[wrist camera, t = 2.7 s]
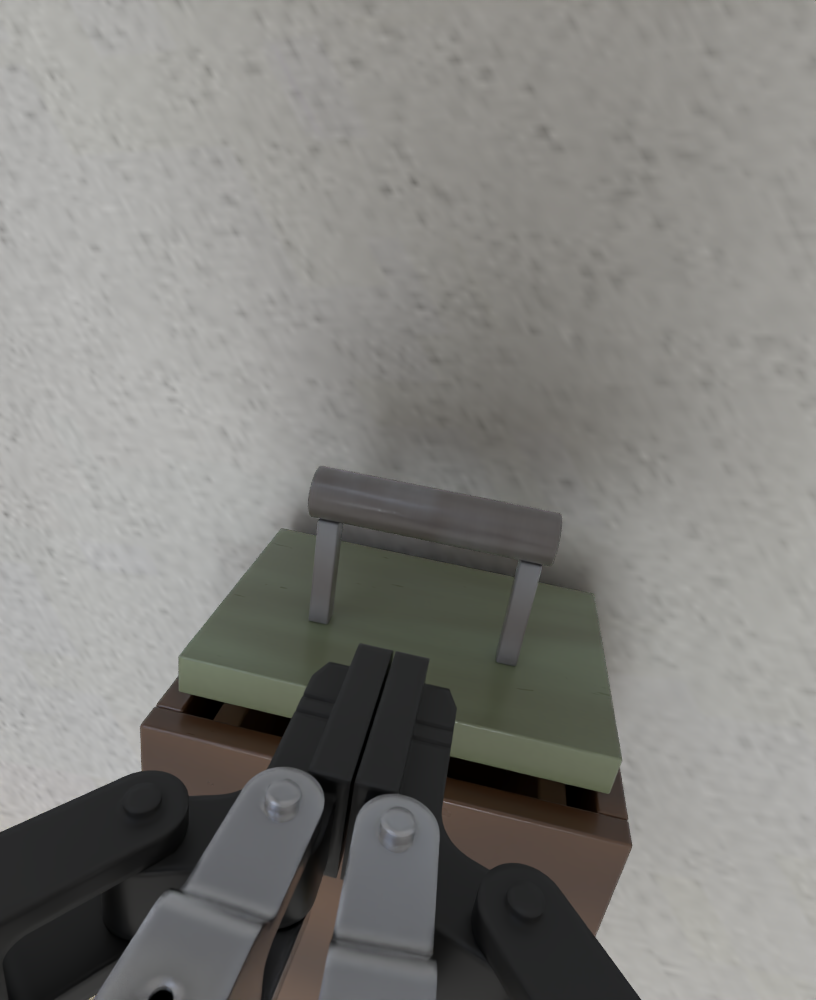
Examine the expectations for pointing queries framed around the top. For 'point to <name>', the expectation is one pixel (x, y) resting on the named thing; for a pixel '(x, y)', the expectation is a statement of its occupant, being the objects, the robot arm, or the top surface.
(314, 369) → the top surface
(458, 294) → the top surface
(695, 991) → the top surface
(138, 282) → the top surface
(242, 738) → the cabinet
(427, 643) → the drawer
